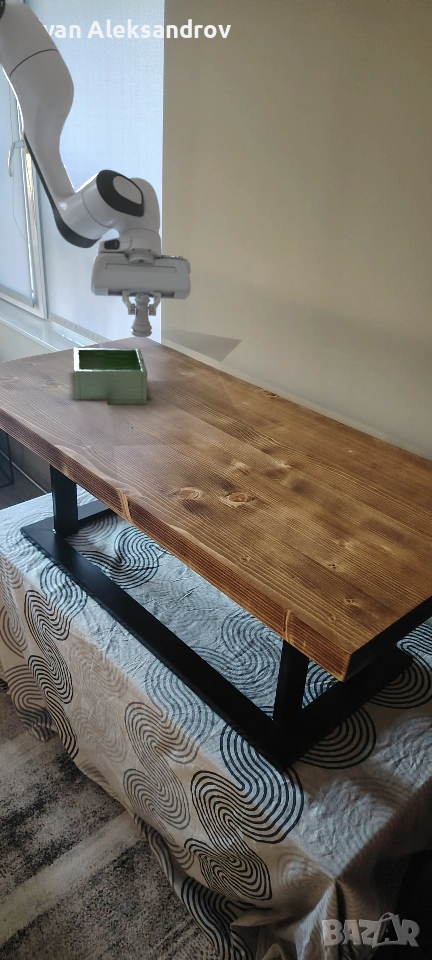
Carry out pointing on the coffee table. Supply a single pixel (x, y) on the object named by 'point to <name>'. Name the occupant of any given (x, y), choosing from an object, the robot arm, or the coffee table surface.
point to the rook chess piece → (141, 317)
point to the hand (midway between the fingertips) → (142, 314)
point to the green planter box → (110, 375)
